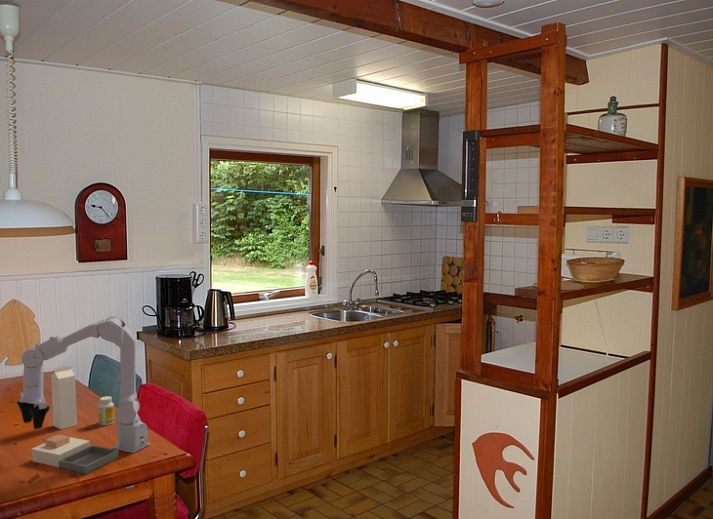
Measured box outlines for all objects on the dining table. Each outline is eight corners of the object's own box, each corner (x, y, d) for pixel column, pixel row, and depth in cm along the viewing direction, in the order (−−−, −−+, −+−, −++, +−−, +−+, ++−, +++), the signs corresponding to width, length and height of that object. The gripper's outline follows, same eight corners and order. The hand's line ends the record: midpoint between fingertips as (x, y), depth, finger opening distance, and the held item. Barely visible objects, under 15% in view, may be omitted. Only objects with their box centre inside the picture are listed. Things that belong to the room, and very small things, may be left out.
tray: (118, 457, 195) (118, 450, 194) (86, 474, 183) (85, 466, 182) (92, 452, 199) (92, 445, 199) (59, 468, 187) (58, 460, 187)
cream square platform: (90, 452, 199) (89, 441, 198) (59, 467, 188) (59, 454, 187) (63, 447, 203) (62, 435, 203) (32, 461, 192) (31, 448, 192)
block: (69, 442, 197) (69, 436, 197) (56, 448, 192) (56, 442, 192) (58, 440, 199) (58, 434, 199) (45, 445, 194) (45, 439, 194)
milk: (77, 425, 224) (75, 366, 222) (60, 430, 219) (58, 370, 217) (69, 421, 227) (67, 364, 225) (52, 425, 223) (50, 367, 221)
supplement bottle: (96, 425, 223) (95, 400, 222) (101, 420, 228) (100, 395, 227) (111, 425, 223) (111, 400, 223) (116, 420, 229) (115, 395, 228)
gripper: (10, 381, 197) (10, 422, 198) (30, 391, 188) (29, 434, 189) (33, 377, 203) (32, 417, 204) (53, 387, 194) (52, 428, 195)
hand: (32, 425), depth 197 cm, fingers open, 7 cm apart
